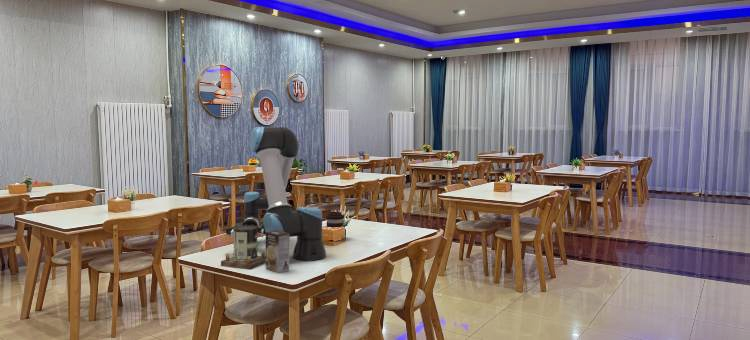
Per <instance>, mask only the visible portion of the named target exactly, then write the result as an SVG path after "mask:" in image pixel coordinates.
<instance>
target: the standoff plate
mask: <svg viewBox="0 0 750 340" xmlns="http://www.w3.org/2000/svg"><path fill="white" fill-rule="evenodd" d="M260 251H261V252H260V253H261V255H258V254H257V259H256V260H254V261H251V256H247V262H239V261H235V260H234V256H231V257H230V253H229V252H228V253H227V252H226V253H225V259H223V260H221V261H220V267H229V268H235V269H236V268H237V269H243V270H244V269H245V270H252V269H255V268H257V267H259V266H261V265H265V264H266V250H260Z"/></svg>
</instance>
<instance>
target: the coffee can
mask: <svg viewBox="0 0 750 340" xmlns="http://www.w3.org/2000/svg"><path fill="white" fill-rule="evenodd" d="M233 227H234V226H233ZM233 230H234V236H233V257H234V260H235V261H239V262H247V256H251V261H254V260H256V259H257V255H258V233H257V227H256V226H242V225H237V227H234V228H233Z"/></svg>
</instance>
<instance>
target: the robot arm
mask: <svg viewBox="0 0 750 340" xmlns="http://www.w3.org/2000/svg"><path fill="white" fill-rule="evenodd" d="M248 144H249V150H250V151H251V152H253V153H255V156H256V158H257V159H259V160H260V166H261V172H262V176H263V177H262V178H263V182H264V189H265V193H266V194H261V195H260V193H259V192H258V191H246V192H245V193H244V194H243V195H244V197H243V209H244V212H243V217H244V218H243V223H242V225H241V226H256V227H257V234H261V238H264V236H265V235H266V232H269V231H275V230H279V231H282V232H286V233H290V234H289V238H293V237H296V243H295V245H294V248H293V252H292V257H293V259H295V260H298V261H299V260H300V261H318V260H323V259H325V258H326V255H327V254H326V253H327V251H326V248H325V245H324V242H323V219H324V218H323V211H322V210H321V209H319V208H315V207H310V206H309V207H308V206H297V207H296V210H293V208H292V207H293V206H292V205H291V204H289V203H288V199H287V193H286V189H287V185H288V182H289V178H290V176H291V171H292V169H293V168H292V167H293V163H294V159H295V158H296V157H297V156H298V154H299V148H300V147H299V140H298V137H297V135H296V134H295V132H294V131H293V130H291V129H289V128H288V127H286V126H285V127H284V126H257V127H254V128H253V129H252V130H251V133H250V137H249V143H248ZM261 210H266V211H265V212H266V213H265V214H264V215H263V217H262V219H263V222H262V223H263V224H262V225H260V221H261V219H260V211H261ZM237 226H238V225H234V226H231V227H229V228H226V229H225V234H226V235H228V236H229V237H230V239H234V230H233V228H234V227H237Z"/></svg>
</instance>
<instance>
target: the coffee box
mask: <svg viewBox="0 0 750 340" xmlns="http://www.w3.org/2000/svg"><path fill="white" fill-rule="evenodd" d="M289 234H290V233H286V232H282V231H279V230H275V231H269V232H266V234H265V256H266V263H265V270H268V271H271V272H274V273H277V274H280V273H283V272H287V271H289V270H290V237H289Z"/></svg>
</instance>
